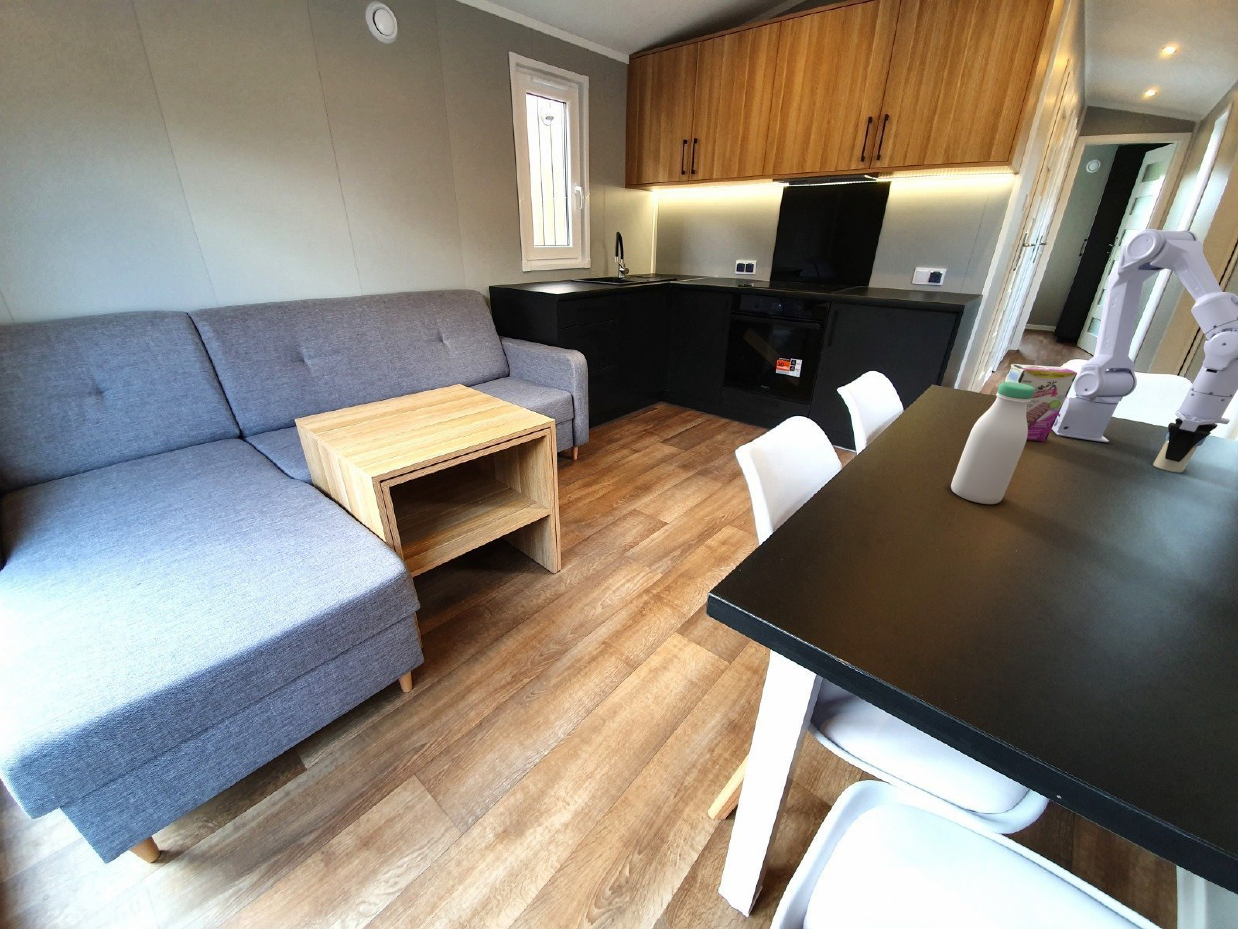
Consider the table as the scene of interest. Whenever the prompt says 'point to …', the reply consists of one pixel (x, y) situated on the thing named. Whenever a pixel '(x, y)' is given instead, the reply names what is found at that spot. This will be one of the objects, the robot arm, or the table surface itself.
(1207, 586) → the table surface
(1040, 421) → the candy bar box
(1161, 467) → the jam jar
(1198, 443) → the jam lid
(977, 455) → the milk bottle
